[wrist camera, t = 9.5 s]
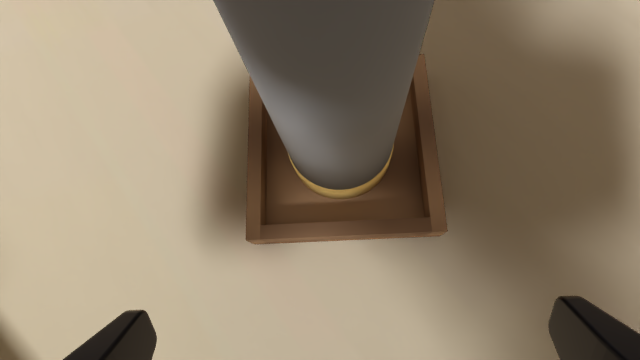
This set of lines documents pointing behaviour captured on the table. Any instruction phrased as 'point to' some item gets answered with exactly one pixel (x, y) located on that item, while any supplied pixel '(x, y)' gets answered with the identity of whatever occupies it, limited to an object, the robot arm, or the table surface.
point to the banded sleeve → (332, 80)
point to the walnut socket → (355, 213)
